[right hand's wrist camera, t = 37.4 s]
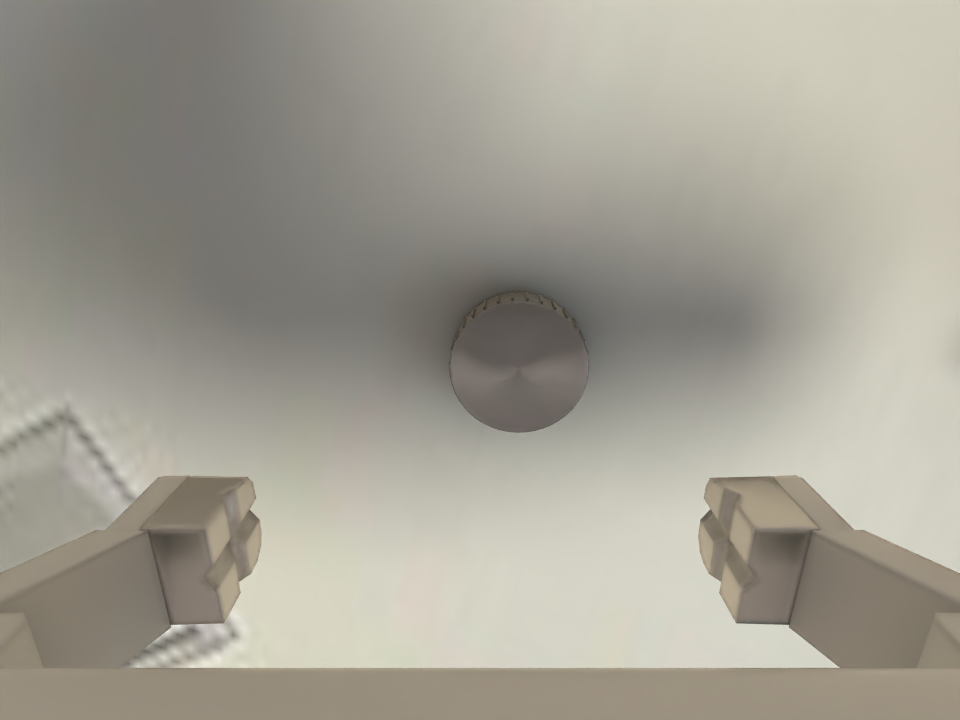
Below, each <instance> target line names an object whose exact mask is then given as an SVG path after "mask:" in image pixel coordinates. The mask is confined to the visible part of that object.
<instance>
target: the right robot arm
mask: <svg viewBox="0 0 960 720" xmlns="http://www.w3.org/2000/svg"><path fill="white" fill-rule="evenodd" d="M255 499H256V496H255V491H254V486H253V482H252V481H251V480H250V479H249V478H248V477H219V476H163V477H158V478H157V479H156V480H155V481H154V482H153V483H152V484H151V485H150V486H149V487H148V488H147V489H146V490H145V491H144V492H143V493H142V494H141V495H140V496H139V497H138V498H137V499H136V500H135V501H134V502H133V503H132V504H131V505H130V506H129V507H128V508H127V509H126V510H125V511H124V512H123V513H122V514H121V515H120V516H119V517H118V518H117V519H116V520H115V521H114V522H113V523H112V524H111V525H110V526H109V527H108V528H107V529H106V530H95V531H93V532H91V533H89V534H87V535H84V536H82V537H80V538H78V539H76V540H73V541H71V542H69V543H67V544H64V545H62V546H60V547H58V548H56V549H53V550H51V551H49V552H47V553H44V554H42V555H40V556H38V557H36V558H33V559H31V560H29V561H27V562H24V563H22V564H20V565H18V566H16V567H13V568H11V569H9V570H7V571H5V572H2V573H0V720H960V573H957V572H955V571H953V570H951V569H949V568H946V567H944V566H942V565H940V564H938V563H935V562H933V561H931V560H929V559H926V558H924V557H922V556H920V555H918V554H915V553H913V552H911V551H909V550H907V549H904V548H902V547H900V546H898V545H895V544H893V543H891V542H889V541H887V540H884V539H882V538H880V537H878V536H876V535H873V534H871V533H869V532H867V531H864V530H854V529H853V528H852V527H851V526H850V525H849V524H848V523H847V522H846V521H845V520H844V519H843V518H842V517H841V516H840V515H839V514H838V513H837V512H836V511H835V510H834V509H833V508H832V507H831V506H830V505H829V504H828V503H827V502H826V501H825V500H824V499H823V498H822V497H821V496H820V495H819V494H818V493H817V492H816V491H815V490H814V489H813V488H812V487H811V486H810V485H809V484H808V483H807V482H806V481H805V480H804V479H803V478H801V477H798V476H796V475H791V476H767V477H728V478H710V479H709V481H708V483H707V485H706V489H705V495H704V499H705V501H706V503H707V504H708V506H709V507H710V510H709V512H708V513H707V514H706V515H705V516H704V517H703V518H702V519H701V520H700V528H699V546H700V553H701V556H702V560H703V563H704V565H705V567H706V569H707V571H708V573H709V574H710V575H712V576H713V577H715V578H716V579H718V580H719V581H721V587H720V592H719V593H720V595H721V597H722V598H723V600H724V602H725V604H726V606H727V608H728V609H729V611H730V613H731V615H732V617H733V618H734V620H735V622H736V623H746V624H782V625H789V628H791V629H792V630H793V631H794V632H796V633H797V634H798V635H800V636H801V637H802V638H803V639H805V640H806V641H807V642H808V643H810V644H811V645H812V646H813V647H815V648H816V649H817V650H818V651H820V652H821V653H822V654H823V655H825V656H826V657H827V658H829V659H830V660H831V661H832V662H834V663H835V664H836V665H837V666H839V667H840V668H120V667H122V666H123V665H124V664H125V663H127V662H128V661H129V660H130V659H132V658H133V657H134V656H135V655H137V654H138V653H139V652H140V651H142V650H143V649H144V648H146V647H147V646H148V645H149V644H151V643H152V642H153V641H154V640H156V639H157V638H158V637H159V636H161V635H162V634H163V633H164V632H166V631H167V630H168V629H170V628H171V625H178V624H213V623H224V622H225V620H226V618H227V617H228V615H229V613H230V611H231V609H232V608H233V606H234V604H235V602H236V600H237V598H238V597H239V595H240V593H241V592H240V587H239V581H241V580H242V579H244V578H245V577H247V576H248V575H250V574H251V573H252V571H253V569H254V567H255V565H256V563H257V560H258V556H259V552H260V547H261V527H260V520H259V519H258V518H257V517H256V516H255V515H254V514H253V513H252V512H251V511H250V507H251V506H252V504H253V503H254V501H255Z"/></svg>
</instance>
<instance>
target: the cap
mask: <svg viewBox="0 0 960 720" xmlns="http://www.w3.org/2000/svg"><path fill="white" fill-rule="evenodd" d="M454 340H455V341H453V344H452V347H451V350H450V353H452V354H451V359H450V362H449V366H450V377H451V381H452V386H453V388H454V391H455V394H456V395H457V397H458V399H459V401H460V402H461V404H462V405H463V406H464V408H465V409H466V410H467V411H468V412H469V413H470V414H471V415H472V416H474V417H475V418H476V419H477V420H479V421H481V422H482V423H484V424H486V425H488V426H490V427H492V428H495V429H498V430H502V431H507V432H530V431H536V430H539V429H543V428H545V427H547V426H550V425H552V424H554V423H555V422H557V421H559V420H560V419H562V418H563V417H564V416H566V415H567V414H568V413H569V412H570V411H571V410H572V409H573V407H574V406H575V405H576V404H577V402H578V401H579V399H580V397H581V396H582V394H583V391H584V389H585V386H586V383H587V379H588V371H589V362H588V355H587V354H588V351H587V349H586V346H585V344H584V342H583V341H585V340H584V337H583V335H582V333H581V331H580V330H578V326H577V324H576V322H575V319H574V318H571V317H570V316H569V315H568V314H567V311H566V309H565V308H563V309H562V308H561V307H560V306H559V305H557V304H556V303H555V301H554V300H553V299H552V301H551V300H549V299H547V298H545V297H542V294H539V295H536V294H531V293H528V291H525V293H523V292H515V293H513V291H511V293H506V294H501V295H499V294H497V296H495V297H493V298H491V299H488V300H486V299H485V300H484V302H483V303H482V304H480V305H478V306H477V307H476V308H475V307H473V308H472V312H471V313H470V314H469V315H468V316H467V317H464V318H463V322H462V325H461V327H460V329H457V331H456V334H455V338H454Z"/></svg>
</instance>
